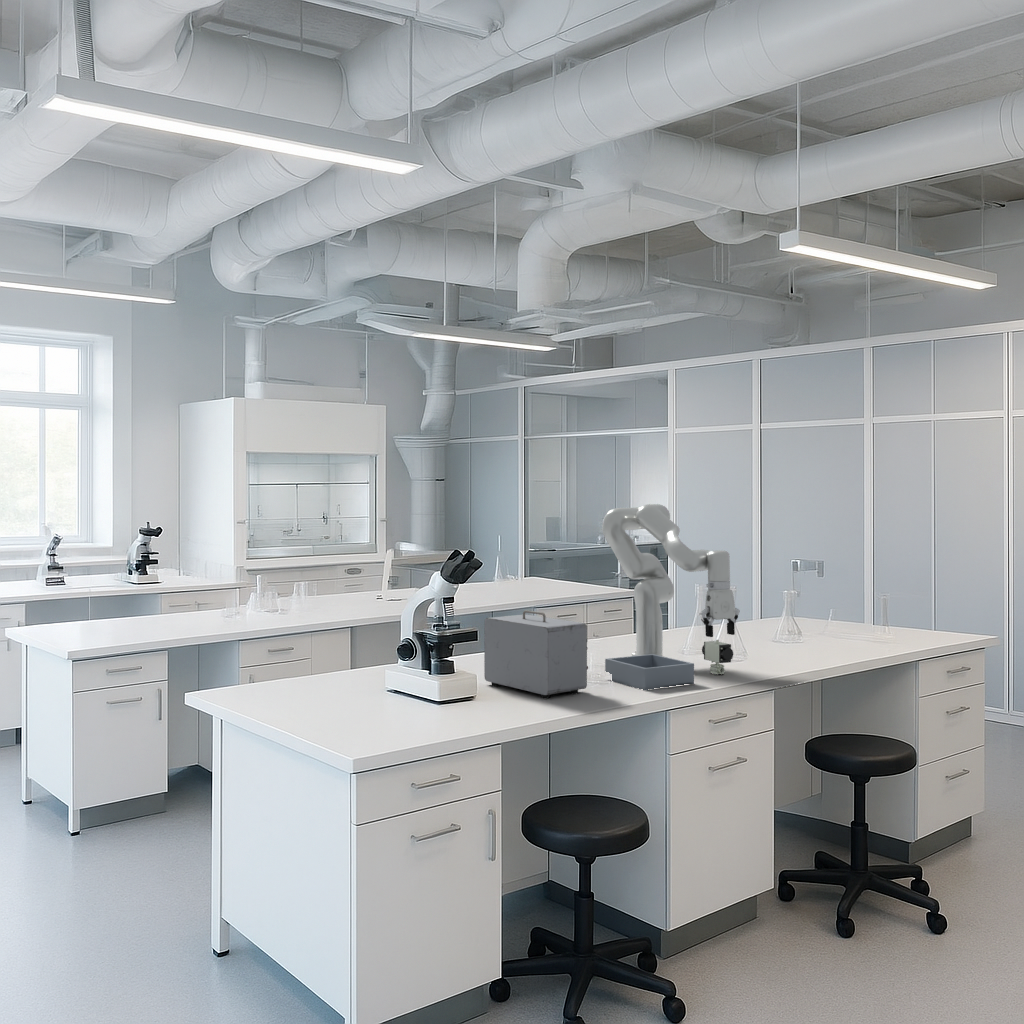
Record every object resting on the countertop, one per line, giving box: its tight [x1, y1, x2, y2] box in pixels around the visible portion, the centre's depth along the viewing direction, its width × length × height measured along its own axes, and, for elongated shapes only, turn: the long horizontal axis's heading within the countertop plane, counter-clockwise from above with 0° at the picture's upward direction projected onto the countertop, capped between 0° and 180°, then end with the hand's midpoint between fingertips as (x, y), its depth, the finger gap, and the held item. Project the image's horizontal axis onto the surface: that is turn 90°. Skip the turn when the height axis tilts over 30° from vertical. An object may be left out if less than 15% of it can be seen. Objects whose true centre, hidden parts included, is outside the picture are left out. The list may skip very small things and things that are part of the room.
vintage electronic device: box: [483, 609, 589, 699], centre depth 314 cm, size 32×18×25 cm, turn 39°
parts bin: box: [604, 654, 695, 691], centre depth 325 cm, size 22×20×7 cm
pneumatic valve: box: [701, 639, 734, 675], centre depth 340 cm, size 6×12×12 cm, turn 27°
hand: (720, 635), depth 339 cm, fingers open, 9 cm apart
